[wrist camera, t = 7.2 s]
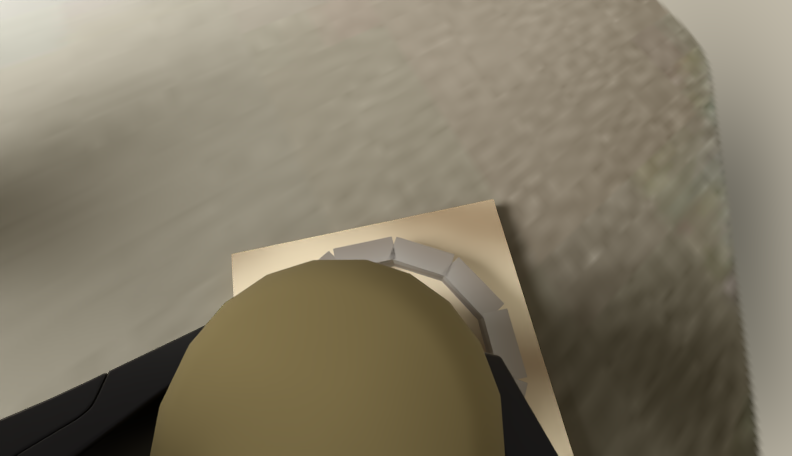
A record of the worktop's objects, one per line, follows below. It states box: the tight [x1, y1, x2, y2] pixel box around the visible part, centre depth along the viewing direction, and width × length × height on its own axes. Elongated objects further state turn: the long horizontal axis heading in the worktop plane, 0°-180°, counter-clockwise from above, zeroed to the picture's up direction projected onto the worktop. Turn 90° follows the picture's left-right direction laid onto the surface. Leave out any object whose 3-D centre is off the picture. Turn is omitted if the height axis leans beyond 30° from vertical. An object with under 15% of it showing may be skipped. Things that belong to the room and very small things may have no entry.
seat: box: [231, 199, 573, 456], centre depth 15 cm, size 13×13×2 cm
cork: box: [150, 260, 505, 456], centre depth 9 cm, size 6×6×11 cm
